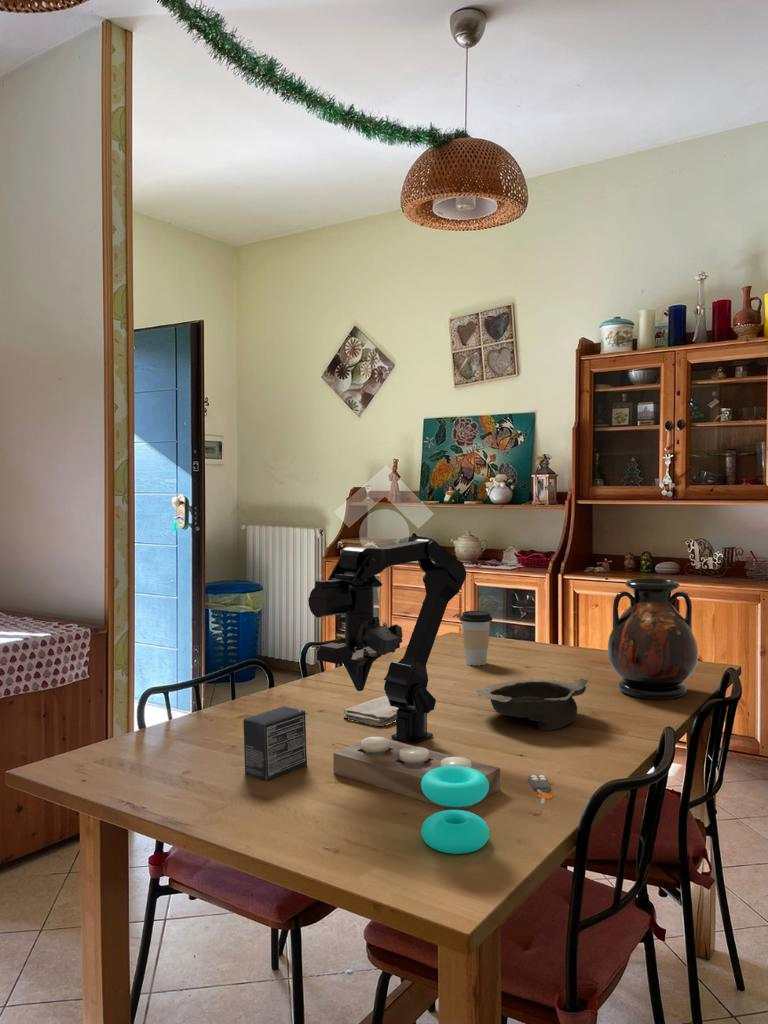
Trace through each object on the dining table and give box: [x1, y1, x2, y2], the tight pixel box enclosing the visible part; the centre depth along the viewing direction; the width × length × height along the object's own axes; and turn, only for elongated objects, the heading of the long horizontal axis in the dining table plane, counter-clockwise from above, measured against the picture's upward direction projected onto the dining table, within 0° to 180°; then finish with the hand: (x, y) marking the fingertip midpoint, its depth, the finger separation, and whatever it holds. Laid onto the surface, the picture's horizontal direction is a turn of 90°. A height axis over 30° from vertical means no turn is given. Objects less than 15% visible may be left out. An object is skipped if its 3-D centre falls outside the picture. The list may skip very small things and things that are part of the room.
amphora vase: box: [607, 577, 699, 700], centre depth 198 cm, size 22×22×28 cm
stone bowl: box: [476, 678, 588, 732], centre depth 177 cm, size 25×25×9 cm
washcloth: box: [343, 694, 398, 727], centre depth 182 cm, size 12×18×3 cm, turn 144°
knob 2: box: [441, 756, 472, 768], centre depth 135 cm, size 5×5×5 cm
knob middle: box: [399, 745, 429, 767], centre depth 140 cm, size 5×5×5 cm
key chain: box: [527, 774, 553, 805], centre depth 135 cm, size 13×4×2 cm, turn 179°
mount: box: [332, 736, 501, 811], centre depth 141 cm, size 12×28×4 cm, turn 51°
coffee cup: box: [459, 610, 493, 667], centre depth 231 cm, size 9×9×15 cm
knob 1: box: [360, 736, 390, 756], centre depth 146 cm, size 5×5×5 cm
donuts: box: [420, 766, 490, 855], centre depth 117 cm, size 10×10×10 cm
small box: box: [242, 705, 308, 782], centre depth 147 cm, size 11×6×10 cm, turn 141°
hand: (359, 690), depth 155 cm, fingers closed
